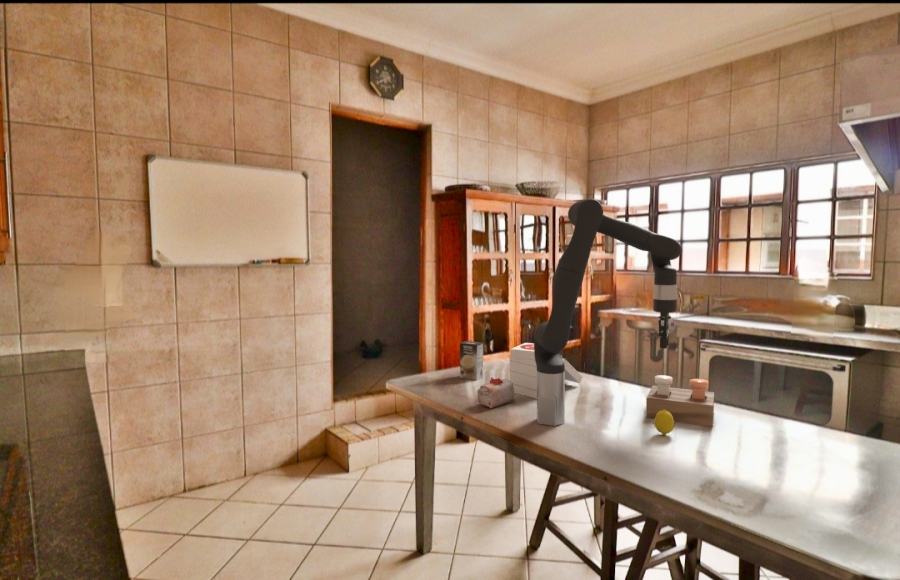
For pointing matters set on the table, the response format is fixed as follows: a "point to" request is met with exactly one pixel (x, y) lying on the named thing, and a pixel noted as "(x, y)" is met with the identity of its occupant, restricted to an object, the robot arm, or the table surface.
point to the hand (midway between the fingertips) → (664, 346)
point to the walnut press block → (682, 406)
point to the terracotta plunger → (698, 388)
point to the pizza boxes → (531, 370)
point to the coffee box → (471, 360)
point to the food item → (496, 393)
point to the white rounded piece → (663, 384)
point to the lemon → (664, 422)
